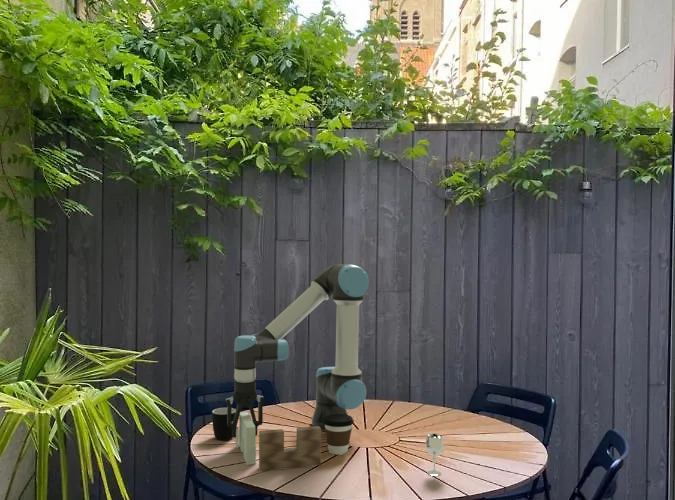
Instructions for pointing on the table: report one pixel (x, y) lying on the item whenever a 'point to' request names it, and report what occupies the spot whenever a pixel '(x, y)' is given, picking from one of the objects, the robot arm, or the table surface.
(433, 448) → the wineglass
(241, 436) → the sage plate
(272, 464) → the slotted board
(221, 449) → the table surface
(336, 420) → the coffee cup
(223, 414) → the mug
